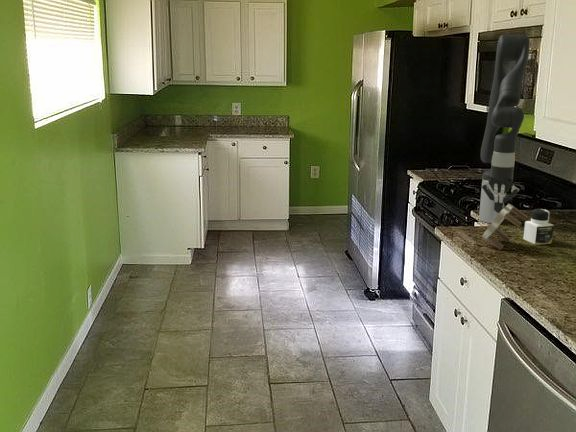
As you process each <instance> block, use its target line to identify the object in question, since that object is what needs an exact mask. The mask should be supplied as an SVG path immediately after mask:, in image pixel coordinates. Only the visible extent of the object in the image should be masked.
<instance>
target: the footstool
mask: <svg viewBox="0 0 576 432" xmlns="http://www.w3.org/2000/svg"><path fill="white" fill-rule="evenodd" d="M509 213H513V214H514V215H516V216H517V217H519V218H520V219H521V220H523V221H527V218H528V217H529V216H528V215H526V214H525V213H524V212H522V211H521V210H519V209H518V208H517V207H515V206H514V205H513V204H510V203H507V205H506V206H504V208H503V209H502V210H501V211H500V213H499V214H498V215H497V217H496V218H495V219H494V221H493V222H492V223H490V224H489V225H488V227H487V229H486V230H485V231H484V233H483V234H482V235H481V238H483V239H484V240H485V241H487V242H488V243H490V244H491V245H493V246H494V247H495V248H497V249H498V250H500V251H501V250H502V249H503V248H504V247H505V246H504V245H503V244H502V243H501V242H500V241H498V240H497V239H495V237H492V235H493V234H495V235H496V236H497V237H499V238H500V239H501V240H503V241H504V242H506V243H508V242H509V241H510V240H511V237H509V236H508V235H506V234H505V233H503V232H502V231H501V230H500V229H498V228H499V226H500V225H501V224H502V223H503V221H504V220H507V221H508V222H510V223H512V225H514V226H516V227H517V228H520V227H521V225H522V224H523V223H522V222H521V221H519V219H517V218H515V217H514V216H513V215H511V214H509Z"/></svg>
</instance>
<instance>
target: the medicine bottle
mask: <svg viewBox="0 0 576 432" xmlns="http://www.w3.org/2000/svg"><path fill="white" fill-rule="evenodd" d="M549 221H550V211H549V210H547V209H545V208H544V209H543V208H535V209H532V210H531V215H530V220H525V222H524V229H523V240H525V241H526V242H528V243H531V244H533V245H535V246H536V245H546V244H549V245H550V244H552V241H553V235H554V224H552V223H550V222H549Z"/></svg>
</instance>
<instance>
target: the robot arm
mask: <svg viewBox="0 0 576 432" xmlns="http://www.w3.org/2000/svg"><path fill="white" fill-rule="evenodd" d="M530 41H531V39H530V37H529V36H528V35H525V34H524V35H522V34H510V33H509V34H506V33H505V34H501V35H500V36H499V38H498V40H497V44H496V45H497V46H496V53H495V63H494V74H493V80H492V85H491V90H490V91H491V92H490V97H489V103H488V110H487V117H486V118H487V119H486V124H485V125H486V126H485V130H484V135H483V140H482V142H481V147H480V160H481V162H482V163H484V164H491V167H490V169H488V170H485V171H483V173H482V179H481V180H482V181H481V182H482V183H481V191H480V202H479V203H480V205H479V213H478V214H479V215H478V221H481V222H483V223H487V224H491V223H492V222H493V221H494V219H495V218H496V217H497V215H498V214H499V213H500V211H501V210H502V209H503V208H504V207H505V203H507V202H509V201H510V200H511V199H512V198H513V197H514V196H515V195H516V194H517V193H518V192H519V191H520V188H519V187H516V186H515V185H514V184H515V182H514V170H515V160H516V154H515V153H516V143H517V138H518V134H519V131H520V129H521V127H522V124H523V122H524V119H525V113H524V110H523V108H521V107H520V106H519V107H518V106H517V105H519V104H520V101H521V93H522V92H521V91H522V84H523V78H524V74H525V72H526V67H527V62H528V57H529V52H530V48H531V47H530V45H531V44H530V43H531V42H530ZM506 61H507V62H510V61H511V62H516V63H515V65H514V66H513V67H512V69H511V70H510V71H509V72H507V71H506V66H505V62H506ZM500 128H511V130H509V131H508V132H505V133H501V134H497V132H498V131H499V129H500ZM496 134H497V135H496ZM509 191H510V192H511V193H509V194H508V196H506V194H507V193H508V192H509Z"/></svg>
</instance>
